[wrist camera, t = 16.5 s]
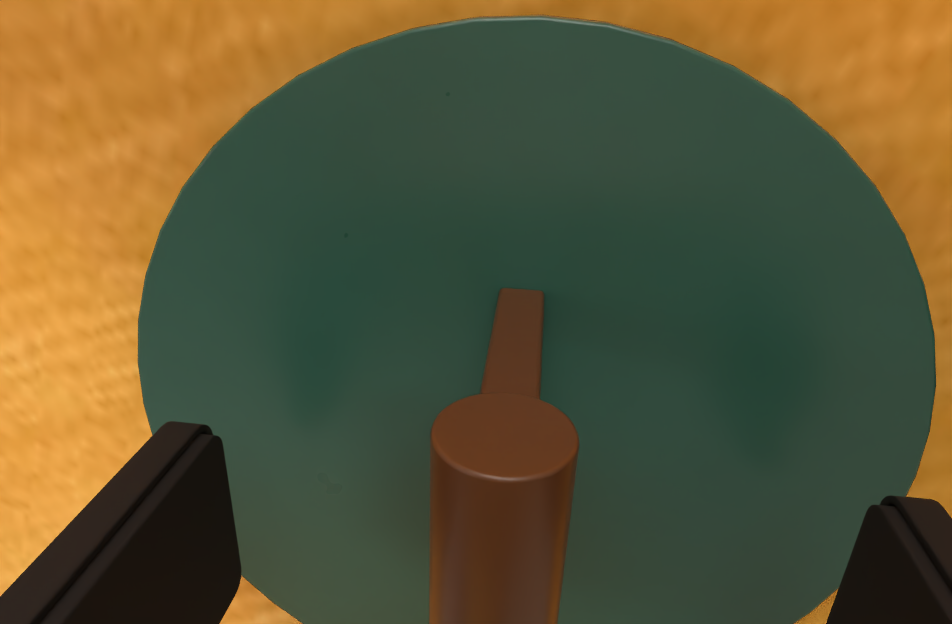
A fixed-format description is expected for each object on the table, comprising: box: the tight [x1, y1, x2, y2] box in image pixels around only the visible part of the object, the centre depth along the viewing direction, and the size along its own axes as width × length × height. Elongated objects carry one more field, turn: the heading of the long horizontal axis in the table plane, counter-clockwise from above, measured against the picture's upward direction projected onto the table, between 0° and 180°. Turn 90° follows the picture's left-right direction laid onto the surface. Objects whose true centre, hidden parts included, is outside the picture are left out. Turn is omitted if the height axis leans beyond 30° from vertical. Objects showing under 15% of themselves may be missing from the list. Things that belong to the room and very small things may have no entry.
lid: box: [138, 15, 936, 624], centre depth 10 cm, size 13×13×6 cm
